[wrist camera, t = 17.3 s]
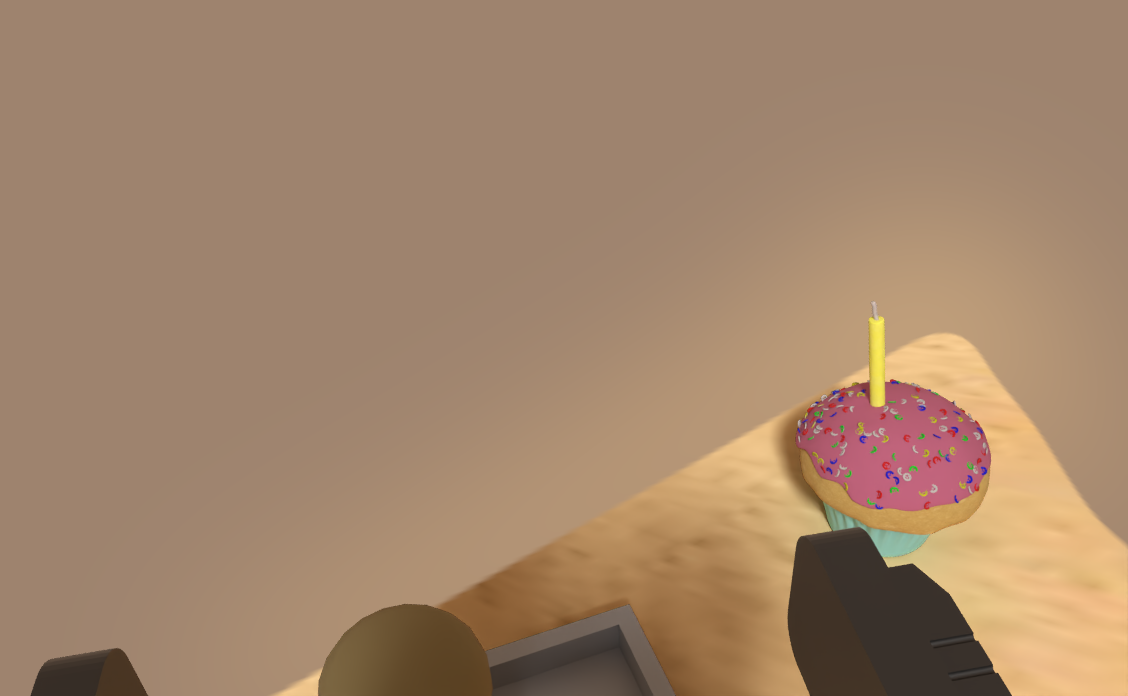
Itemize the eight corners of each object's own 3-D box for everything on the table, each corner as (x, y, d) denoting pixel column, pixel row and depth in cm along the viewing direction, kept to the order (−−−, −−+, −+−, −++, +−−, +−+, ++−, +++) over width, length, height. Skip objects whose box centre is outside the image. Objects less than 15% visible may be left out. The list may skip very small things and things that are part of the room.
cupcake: (756, 530, 47) (774, 330, 40) (842, 437, 52) (872, 245, 45) (924, 621, 42) (979, 412, 35) (1002, 510, 47) (1064, 307, 40)
